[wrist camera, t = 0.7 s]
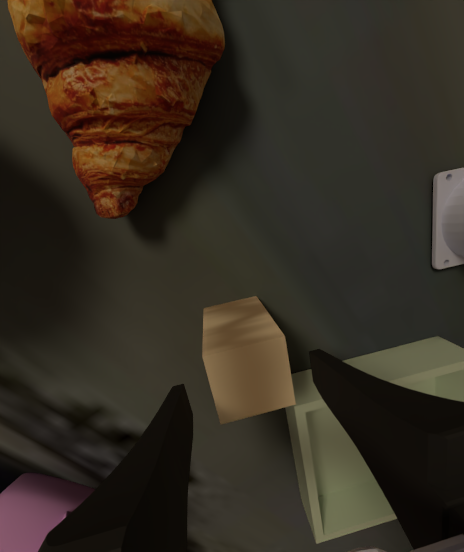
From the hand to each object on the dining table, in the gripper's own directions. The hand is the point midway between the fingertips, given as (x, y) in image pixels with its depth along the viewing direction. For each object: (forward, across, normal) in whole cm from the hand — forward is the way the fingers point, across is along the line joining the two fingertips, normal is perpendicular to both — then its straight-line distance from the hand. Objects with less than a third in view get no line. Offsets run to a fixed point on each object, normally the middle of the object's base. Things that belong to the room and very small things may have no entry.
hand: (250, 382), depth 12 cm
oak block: (+7, 0, 0) cm, 7 cm away
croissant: (+7, +2, -20) cm, 22 cm away
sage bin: (+7, -11, +14) cm, 19 cm away
